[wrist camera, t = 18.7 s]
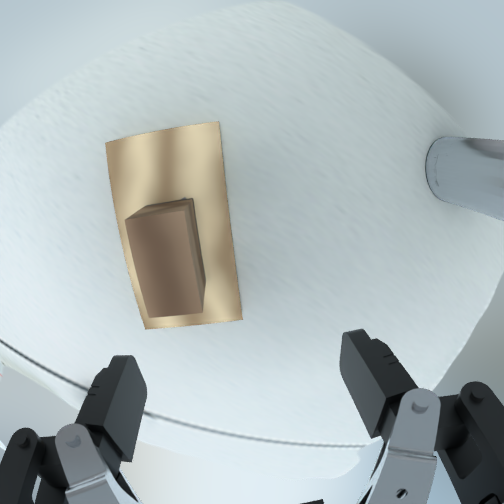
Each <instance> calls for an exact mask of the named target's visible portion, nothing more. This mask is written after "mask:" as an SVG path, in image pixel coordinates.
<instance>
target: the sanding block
mask: <svg viewBox="0 0 504 504" xmlns="http://www.w3.org/2000/svg"><path fill="white" fill-rule="evenodd" d="M125 226H126V230H127V235H128V240H129V245H130V249H131V253H132V258H133V262H134V266H135V270H136V274H137V278H138V282H139V285H140V289H141V293H142V296H143V300H144V303H145V307H146V310H147V314H148V317H149V318H156V317H168V316H178V315H188V314H197V313H203V305H204V296H205V286H206V276H205V270H204V264H203V259H202V253H201V246H200V240H199V234H198V227H197V221H196V214H195V207H194V200H193V198H189V199H182V200H175V201H169V202H163V203H157V204H151V205H146V206H144V207H143V208H141V209H140V210H138V211H137V212H135V213H134V214H132V215H131V216H130V217H128V218H127V219H125Z"/></svg>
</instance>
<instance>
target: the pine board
mask: <svg viewBox="0 0 504 504" xmlns="http://www.w3.org/2000/svg"><path fill="white" fill-rule="evenodd" d="M105 145H106V154H107V162H108V170H109V177H110V184H111V190H112V196H113V202H114V208H115V213H116V219H117V224H118V229H119V233H120V238H121V243H122V247H123V251H124V256H125V260H126V264H127V268H128V272H129V276H130V279H131V283H132V287H133V290H134V294H135V297H136V301H137V304H138V308H139V311H140V314H141V317H142V320H143V324H144V327H145V329H157V328H170V327H181V326H192V325H201V324H211V323H220V322H228V321H236V320H243V318H242V311H241V304H240V296H239V289H238V281H237V273H236V265H235V258H234V250H233V242H232V234H231V225H230V217H229V209H228V200H227V192H226V183H225V174H224V165H223V156H222V147H221V137H220V128H219V121H218V122H210V123H202V124H195V125H188V126H182V127H176V128H170V129H165V130H160V131H154V132H149V133H145V134H140V135H135V136H131V137H127V138H122V139H118V140H114V141H110V142H107V143H105ZM189 198H193V200H194V207H195V214H196V221H197V227H198V234H199V240H200V246H201V253H202V259H203V264H204V270H205V276H206V286H205V296H204V305H203V313H197V314H188V315H178V316H168V317H156V318H149V317H148V314H147V310H146V307H145V303H144V300H143V296H142V293H141V289H140V285H139V282H138V278H137V274H136V270H135V266H134V262H133V258H132V253H131V249H130V245H129V240H128V235H127V230H126V226H125V219H127V218H128V217H130V216H131V215H132V214H134V213H135V212H137V211H138V210H140V209H141V208H143V207H144V206H146V205H151V204H157V203H163V202H169V201H175V200H182V199H189Z"/></svg>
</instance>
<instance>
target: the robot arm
mask: <svg viewBox="0 0 504 504" xmlns="http://www.w3.org/2000/svg"><path fill="white" fill-rule="evenodd" d="M426 173H427V179H428V183H429V185H430V188H431V190H432V191H433V193H434V194H435V195H436V196H437V198H439V199H441V200H443V201H446V202H449V203H452V204H456V205H459V206H461V207H465V208H468V209H471V210H474V211H477V212H480V213H482V214H485V215H488V216H491V217H494V218H496V219H499V220H502V221H504V140H492V139H477V138H459V137H443V138H440V139H438V140H436V141H435V142H434V143H433V145H432V146H431V148H430V150H429V153H428V156H427V161H426ZM340 372H341V375H342V378H343V380H344V382H345V384H346V386H347V388H348V390H349V393H350V395H351V397H352V399H353V401H354V403H355V405H356V407H357V409H358V412H359V414H360V416H361V418H362V420H363V422H364V424H365V427H366V429H367V431H368V433H369V435H370V437H371V439H372V438H375V437H378V436H381V437H382V439H383V441H384V442H383V444H382V446H381V449H380V452H379V455H378V457H377V460H376V463H375V465H374V468H373V470H372V473H371V475H370V477H369V480H368V482H367V484H366V486H365V489H364V490H363V492H362V494H361V496H360V498H359V500H358V502H357V504H426V503H427V500H428V497H429V493H430V489H431V486H432V482H433V477H434V474H435V470H436V465H437V457H436V456H433V451H437V452H438V454H439V456H440V458H441V461H442V463H443V464H444V467H445V469H446V471H447V473H448V475H449V477H450V479H451V481H452V484H453V486H454V488H455V490H456V493H457V495H458V497H459V499H460V502H461V504H504V406H503V405H502V403H501V402H500V401H499V399H498V398H497V397H496V395H495V394H494V393H493V391H492V390H491V389H490V388H489V387H488V386H487V385H486V384H483V383H481V382H470V383H467V384H466V385H465V386H464V387H463V388H462V389H461V391H460V393H459V394H457V395H450V396H443V397H438V396H437V395H436V394H435V393H433V392H432V391H430V390H427V389H423V388H418V386H417V385H416V384H415V382H414V381H413V379H412V378H411V377H410V375H409V374H408V372H407V371H406V370H405V368H404V367H403V366H402V364H401V363H400V362H399V360H398V359H397V358H396V356H395V355H394V353H393V352H392V351H391V349H390V348H389V347H388V345H386V344H385V343H383V342H382V341H380V340H378V339H377V338H376V339H372V340H371V339H370V337H369V336H368V335H367V333H366V332H365V330H364V329H358V330H353V331H349V332H344V333H343V336H342V344H341V354H340ZM146 399H147V387H146V383H145V381H144V379H143V376H142V374H141V372H140V369H139V367H138V365H137V362H136V360H135V358H134V357H133V356H132V355H116V356H113V358H112V360H111V362H110V364H109V366H108V368H103V369H102V370H101V371H100V372H99V373H98V374H97V375H96V376H95V379H94V381H93V383H92V385H91V388H90V389H89V391H88V395H87V396H86V398H85V400H84V403H83V405H82V407H81V409H80V412H79V414H78V417H77V419H76V421H75V423H74V424H69V425H66V426H64V427H63V428H61V429H60V430H59V431H58V433H57V435H56V436H51V437H39V436H38V435H37V434H36V433H35V432H34V430H32V429H30V428H22V429H19V430H17V431H16V432H15V433H14V434H13V435H12V437H11V439H10V441H9V444H8V446H7V449H6V451H5V453H4V456H3V458H2V461H1V464H0V504H34V502H33V500H32V492H33V489H34V485H35V481H36V478H37V475H38V476H39V477H40V478H41V482H40V485H39V489H38V493H37V497H36V500H35V504H143V503H142V502H141V500H140V499H139V497H138V496H137V494H136V493H135V492H134V490H133V488H132V487H131V485H130V483H129V482H128V480H127V479H126V477H125V475H124V474H123V472H122V470H121V469H120V464H121V461H124V462H132V459H133V454H134V449H135V444H136V440H137V436H138V431H139V427H140V423H141V419H142V415H143V411H144V406H145V402H146ZM471 435H472V436H471ZM474 440H475V441H474ZM302 504H324V502H323V499H321V500H317V501H312V502H307V503H302Z"/></svg>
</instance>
